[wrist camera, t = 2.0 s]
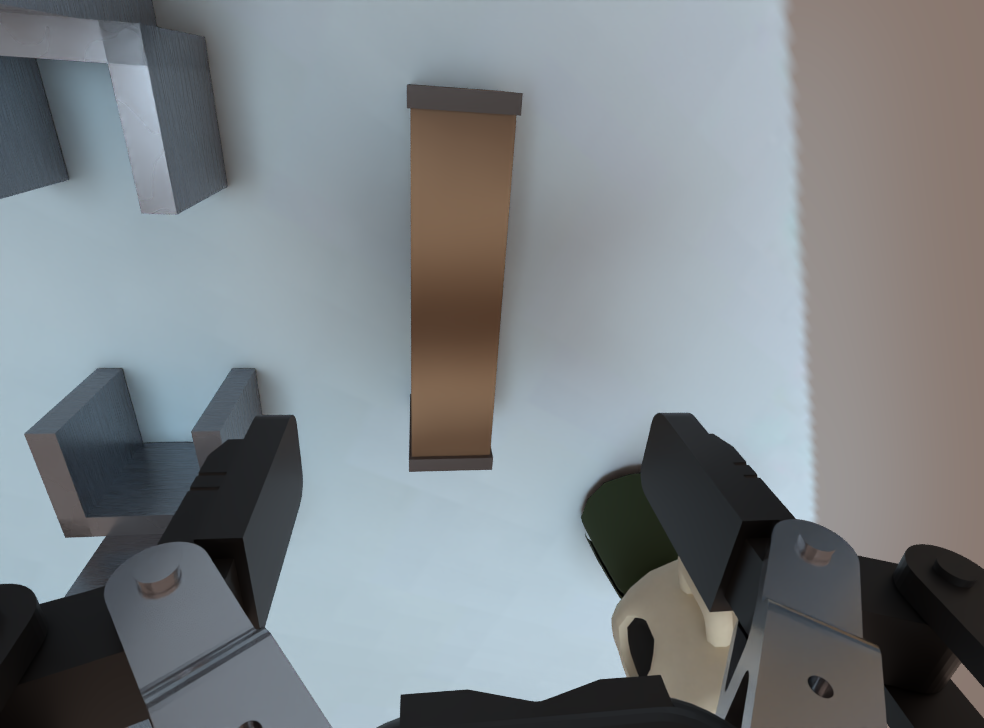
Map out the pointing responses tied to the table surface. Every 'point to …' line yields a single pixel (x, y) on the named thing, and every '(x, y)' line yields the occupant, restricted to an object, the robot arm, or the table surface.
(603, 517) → the character mug
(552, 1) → the table surface
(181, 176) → the ball knob clevis bracket
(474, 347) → the walnut rail
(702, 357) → the table surface
